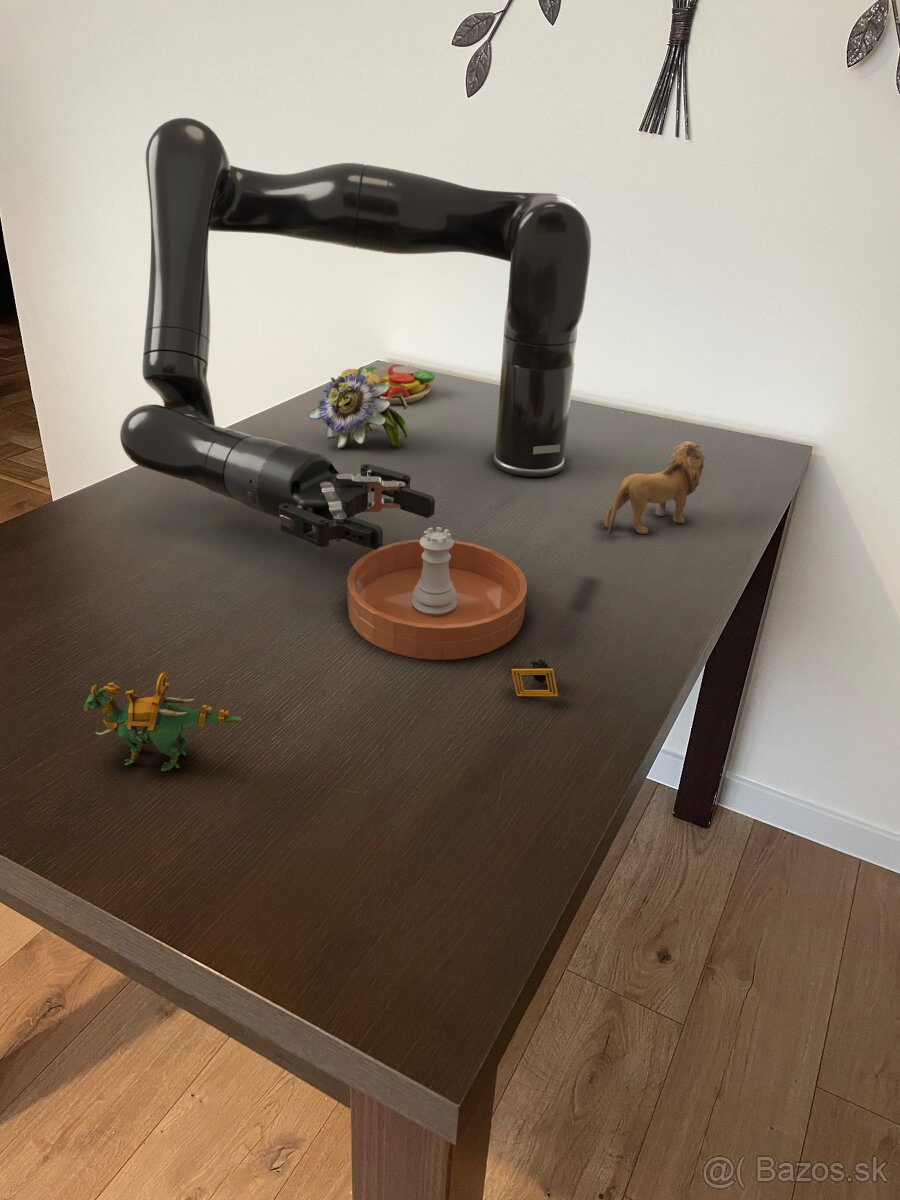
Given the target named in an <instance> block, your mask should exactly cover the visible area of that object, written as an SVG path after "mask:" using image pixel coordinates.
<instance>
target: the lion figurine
mask: <svg viewBox="0 0 900 1200" xmlns="http://www.w3.org/2000/svg"><path fill="white" fill-rule="evenodd" d="M672 451H673V452H672V454H671V457H670V458H669V461H668V463H667V466H666V468H665V469H664V470H662V471H660V472H656V473H650V474H648V473H642V472H641V473H640V472H639V473H638V472H637V473H632V474H629V475H628V476H626V477H624V479H623V480H622V481H621V483H620V485H619V489H618V490H617V493H616V495H615V497H614V501H613V503H612V504H611V505H610V507H608V509H607V510H606V513H605V518H604V523H603V524H604V527H606V528H607V530H606V531H605V533H606V535H611V534H612V533H613V531H614V529H615V526H616V523H615V522H616V517H617V512H618V511H619V510H620V509H621V508H622V507H624V506H625V505H626V504H627V503H628V502H630V505H631V509H632V517H631V524H632V525H633V527H634V528H635V531H636V532H637V533H638V534H642V535H646V534H647V535H648V532H649V529H648V528H647V526H644V525H642V524H641V521H642V516H643V514H644V512H645V510H646V508H647V506H648V503H650V504H657V506H656V509H655V515H657V516H658V517H664V516H666V514H667V511H666V504H667V502H669V501H671V500H674V502H675V509H674V512H673V515H672V517H673V522H675V523H678V524H684V523H685V518H684V517H683V516H682V514H683V512H684V509H685V506H686V504H687V499H688V498H687V497H688V496H690V494H693V492H694V493H695V491H696V489H697V487H698V486H699V483H700V480H701V477H702V474H703V469H704V466H705V457H706V456H705V454H704V452H703V450H702V448H701V446H700V445H699V444H697V443H696V442H692V441H689V440H685V441H683V442H681V444H676V446H674V447H673V449H672Z"/></svg>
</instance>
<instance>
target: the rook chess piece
mask: <svg viewBox="0 0 900 1200" xmlns="http://www.w3.org/2000/svg"><path fill="white" fill-rule="evenodd" d="M435 530H436V531H435ZM435 530H434V528H433V527H432V526H431V527H428V528H427V530H424V532H423V535H422V537H421V538H419V539H420V544H421V546H422V547H423V548H424V552H423V553H422V558H423V569H422V575H421V579H420V580H418V583H417V585H416V586H415V588H414V591H413V596H414V597H413V599H412V604H413V606H414V607H415V608H416V610H418V611H419V612H420V613H423V614H425V615H430V616H441V615H445V614H448V613H449V612H451V611H452V610H453V609H454V608H455V607H456V604H457V600H456V595H457V593H456V590H455V588H454V586H453V583H452V581H451V580H450V576H449V566H448V565H449V560H450V558H451V555H450V554H449V550H450V549H451V547H452V546H453V545H454V541H453V540H454V539H453V538H452V537H451V535H452V534H451V533H450V530H449V529H447V528H445V529H444V530H443V528H442V527H440V526H436V529H435Z"/></svg>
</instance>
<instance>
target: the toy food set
mask: <svg viewBox="0 0 900 1200" xmlns="http://www.w3.org/2000/svg"><path fill="white" fill-rule="evenodd" d="M365 368H366V369H367V380H366V381H367V382H368V383H367V382H366V383H367V385H369V384H370V385H375V384H378V383H385V382H388V383H389V385H390V386H389V389H388V391H386V392H385V393H384V394H382V395H381V396H380V398H381V399H383V400H384V399H387V398H389V397H392V396H394V395H397V394H400V393H401V394H402V397H403V398H404V400H405V402H406V404H410V403H414V402H417V401H420V400H422V399H423V398H425V396H426V395H428V393H429V392H430V391H431V383H434V382H435V381H436V378H435V377H436V376H435V374H434V373H432V372H430V371H423V370H422V371H419V370H418V368H417V367H414V366H410V365H403V364H393V365H391V366H389V368H388V367H376V366H369V367H365ZM358 369H359V368H347V369H345V370H343V371H342V372H341V374H340V376H343V377H344V378H345V377H346V375H347V376H349V374H352V376H353V375H354V374H355V373H356V372H357V370H358ZM370 385H369V386H370ZM398 396H399V395H398ZM398 396H395V397H393V398H390V399H388V400H386V401H388V402H389V403H390V405H403V403H402V402H401V400H400V399H399V398H398Z"/></svg>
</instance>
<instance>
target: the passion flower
mask: <svg viewBox="0 0 900 1200" xmlns="http://www.w3.org/2000/svg"><path fill="white" fill-rule="evenodd" d="M366 368H367V367H365V366H364V365H362V366H360V367H359V368H357V369H358V370H357V372H356V373H355V374H354V375H353V376H352V374H349V376H347V375H346V377H345V378H344V377H343V376H341V375H338V376H337V378H336V379H335V378H334V377H330V380H331V381H332V382H330V383H329V385H326V389H323V392H324V393H325V398H323V399H320V400H319V401H318V405H317V407H316V408H315V409H313V410H311V411H309V412H308V414H307V417H308V418H309V419H311V420H315V421H317V420H321V419H322V421H323V423H324V424H325V425H326V426H327V431H326V439H327V440H330V439H337V448H338V449H344V448H345V447H346V446H347V445H348V444H349V441H350V437H351V436H353V437H354V438H353V439H354V441H355V442H356V443H357V444H359V445H362V444H364V443H365V442H366V440H367V438H368V429H369V430H370V431H373V429H372V427H371V426H370V425H373V426H378V427H379V426H380V427H381V426H382V427H383V429H384V431H385V434H386V435H387V437H388V439H389V442H390V443H391V445H392V446H394V447H396V448H399V447H400V445H401V440H402V439H401V431H402V433H403V434H404V438H405V439H408V437H409V435H408V429H407V427H408V426H407V425H406V421H405V420H404V418H403V417H402V415H400V414H399V413H398V412H397V411H396V410H394V409H392V408H390V407H391V404H390V403H389V402H388V401H386V400H388V399H390V398H393V397H395V396H398V395H399V396H398V398H399V399H400V400H401V402H402V403H403V404H402V407H403V410H407V409H408V407H409V406H408V403H406V402H405V400H404V398H403V397H402V394H401V393H400V394H397V395H394V396H392V397H389V398H387V399H384V400H383V399H381V398H380V396H381V395H382V394H384V393H385V392H386V391H388V389H389V386H390V385H389V383H388V382H385V383H378V384H375V385H370V384H369V385H370V386H369V385H367V383H368V382H367V381H366V380H367V369H366ZM366 382H367V383H366ZM400 430H401V431H400Z"/></svg>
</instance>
